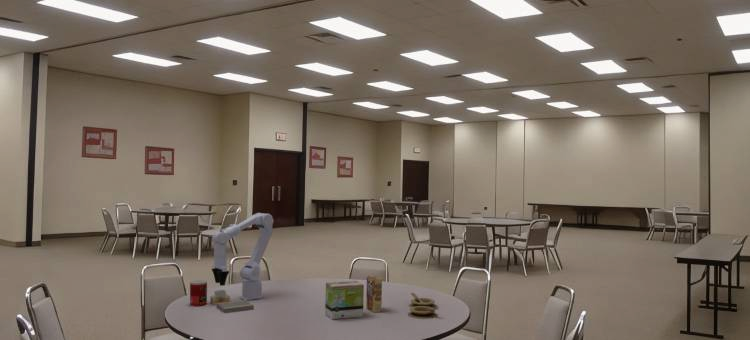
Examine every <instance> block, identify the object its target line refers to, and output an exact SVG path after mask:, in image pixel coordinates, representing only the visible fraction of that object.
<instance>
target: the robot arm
mask: <svg viewBox="0 0 750 340" xmlns="http://www.w3.org/2000/svg"><path fill="white" fill-rule="evenodd" d="M274 222H275V221H274V218H273V215H271V213H263V212H262V213H261V212H256V213H254V214H252V215H251V216H250V217H248V218H246V219H245V220H242V221H241V222H240V223H238V224H236V223H234V224H233V223H231V224H229V226H228V227H225V228H221V230H220V231H217V232H215V233H213V235H212V238H211V240H212V242H213V243H214V244H213V246H214V248H213V249H214V250H213V252H214V253H213V254H214V257H213V260H214V261H213V265H211V272H212V274H213V277H214V282H215V284H218V283H219V286H220V287H221V286H223V287H224V286H226V281H227V277H228V275H229V273H230V271H229V270H227V243H229V240H231V239H233V238H235V237H237V236H238V235H240V233H241V231H242V230H244V229H245V230H246V229H247V228H249V227H251V226H253V225H256V226H257V228H258V229H259V231H260V234H259V235H258V236H259V237H258V239H257V241H256V243H255V245H254V248H253V251H252V253H251V255H250V257H249V259H248V261H247V262H245V264H244V266H243V267H241V269H240V271H239V276H240V278H241V280H242V281H241V282H242V283H241V285H242V287H241V288H242V290H241V291H242V292H241V293H242V295H241V296H239V298H240V299H241V300H246V301H251V300H252V301H253V300H259V299H263V284H262V281H261V280H260V279H259V277H260V271H261V266H260V263H261V260H262V259H263V257H264V253H265V251H266V250H267V249H266V248H267V247H268V244H269V241H270V239H271V237H272V235H273V224H274Z"/></svg>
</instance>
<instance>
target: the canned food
mask: <svg viewBox="0 0 750 340" xmlns="http://www.w3.org/2000/svg"><path fill="white" fill-rule="evenodd" d="M207 303H208V281H206V280H200V279H199V280H192V281H190V283H189V304H190V306H192V307H202V306H203V307H204V306H206V305H207Z"/></svg>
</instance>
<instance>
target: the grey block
mask: <svg viewBox="0 0 750 340" xmlns="http://www.w3.org/2000/svg"><path fill="white" fill-rule="evenodd" d="M226 294H227V290H225V289H218V290H214V296H215V297H225V296H226Z"/></svg>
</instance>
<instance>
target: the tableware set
mask: <svg viewBox="0 0 750 340" xmlns="http://www.w3.org/2000/svg"><path fill="white" fill-rule="evenodd" d="M410 295H411V296H412V297H414V298H412V299H411V300H410V304H409V305H408V307H409V312H408V313H407V316H408V317H409V318H411V319H412V318H413V319H420V320H421V319H422V320H427V319H428V320H429V319H433V318H436V317H438V314H437V313H436V310H438V309H439V307H438V306H437V304H436V303H435V302H436V301H435V299H432V298H427V297H418V295H416V293H414V292H411V293H410Z"/></svg>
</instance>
